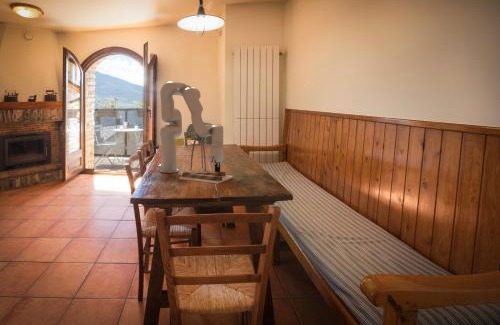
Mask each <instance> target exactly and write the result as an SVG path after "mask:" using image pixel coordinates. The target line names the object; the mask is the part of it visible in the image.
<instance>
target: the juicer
mask: <svg viewBox="0 0 500 325" xmlns="http://www.w3.org/2000/svg"><path fill="white" fill-rule="evenodd" d="M195 136H196V137H194V140H193V144H192V149H191V156H190V157H191V158H190V171H192V169H193V159H194V152H195V151H194V150H195V145H196V142H197V143H198V146H200V153H201V154H200V156H201V169H203V168H204V172H207V162H206V159H207V158H206V152H205V151H206V150H205V145H204V144H205V143H204V137H200V136H199V135H198V134H197V133H196V132H195Z"/></svg>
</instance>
